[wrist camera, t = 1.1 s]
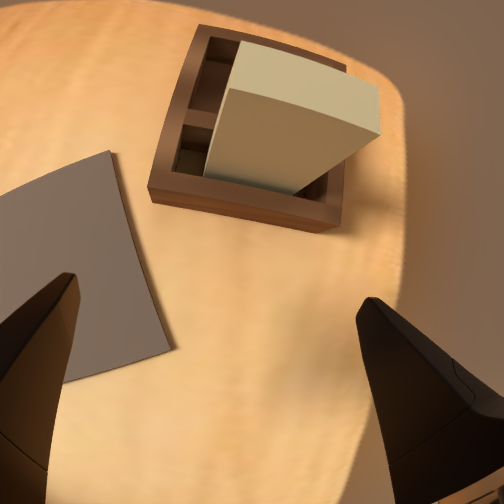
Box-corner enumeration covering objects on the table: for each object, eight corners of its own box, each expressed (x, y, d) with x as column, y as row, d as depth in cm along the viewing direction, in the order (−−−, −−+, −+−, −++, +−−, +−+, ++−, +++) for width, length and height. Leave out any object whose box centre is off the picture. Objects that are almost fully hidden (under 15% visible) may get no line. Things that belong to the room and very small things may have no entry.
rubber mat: (171, 348, 21) (170, 349, 20) (10, 394, 17) (8, 396, 17) (110, 152, 21) (109, 149, 20) (-38, 219, 17) (-41, 218, 17)
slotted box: (315, 233, 24) (340, 225, 20) (152, 202, 21) (147, 186, 17) (326, 87, 25) (346, 65, 22) (194, 53, 23) (198, 24, 19)
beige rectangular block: (278, 205, 23) (380, 134, 11) (200, 189, 22) (229, 87, 9) (282, 174, 24) (378, 87, 11) (206, 158, 22) (241, 40, 10)
